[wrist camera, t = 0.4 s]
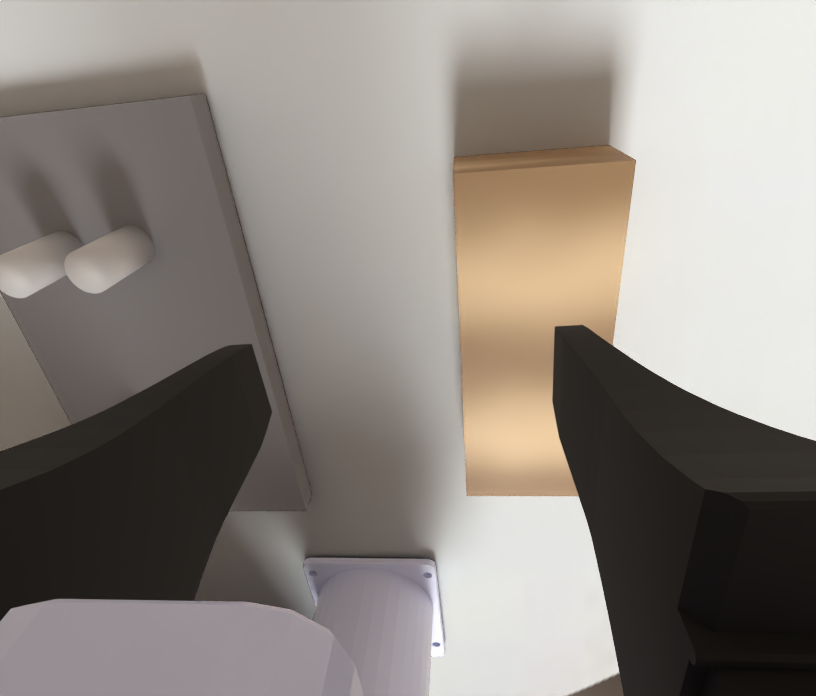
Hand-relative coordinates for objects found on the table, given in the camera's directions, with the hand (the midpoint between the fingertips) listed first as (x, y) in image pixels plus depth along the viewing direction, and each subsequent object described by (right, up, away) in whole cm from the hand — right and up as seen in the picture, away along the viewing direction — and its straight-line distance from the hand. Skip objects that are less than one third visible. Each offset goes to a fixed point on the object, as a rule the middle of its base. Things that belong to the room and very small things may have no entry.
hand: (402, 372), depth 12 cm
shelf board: (+5, +2, +10) cm, 11 cm away
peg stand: (-12, +1, +12) cm, 17 cm away
